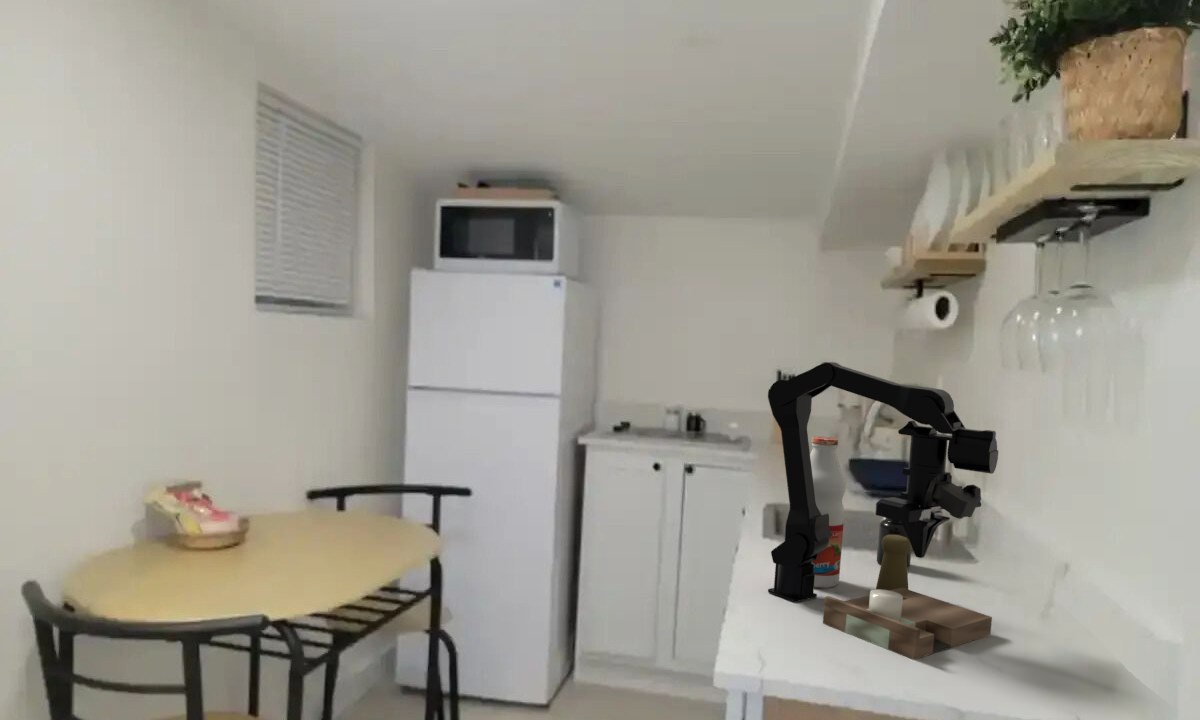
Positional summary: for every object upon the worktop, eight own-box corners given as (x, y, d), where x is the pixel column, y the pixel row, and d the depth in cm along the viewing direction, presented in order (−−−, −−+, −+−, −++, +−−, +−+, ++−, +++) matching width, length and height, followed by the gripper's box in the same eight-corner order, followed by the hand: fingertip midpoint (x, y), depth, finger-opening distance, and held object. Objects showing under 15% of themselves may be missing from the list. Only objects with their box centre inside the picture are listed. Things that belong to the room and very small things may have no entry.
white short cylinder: (861, 616, 139) (863, 592, 138) (879, 611, 142) (881, 587, 142) (889, 626, 135) (891, 601, 135) (907, 621, 138) (909, 596, 138)
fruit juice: (835, 576, 171) (846, 436, 170) (841, 591, 162) (853, 443, 161) (787, 571, 173) (798, 432, 171) (790, 585, 163) (802, 439, 162)
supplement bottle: (872, 559, 186) (876, 504, 186) (904, 561, 186) (908, 506, 186) (881, 568, 180) (885, 511, 179) (914, 570, 179) (919, 513, 179)
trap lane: (822, 623, 143) (824, 596, 143) (900, 603, 157) (902, 579, 156) (913, 659, 130) (916, 630, 129) (990, 634, 143) (992, 608, 143)
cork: (911, 600, 159) (916, 541, 158) (877, 596, 160) (881, 537, 160) (906, 590, 165) (911, 534, 164) (873, 586, 166) (878, 530, 166)
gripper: (939, 476, 131) (931, 577, 132) (1003, 469, 142) (995, 563, 143) (877, 464, 140) (869, 559, 141) (941, 458, 151) (934, 546, 152)
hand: (919, 557), depth 144 cm, fingers closed
